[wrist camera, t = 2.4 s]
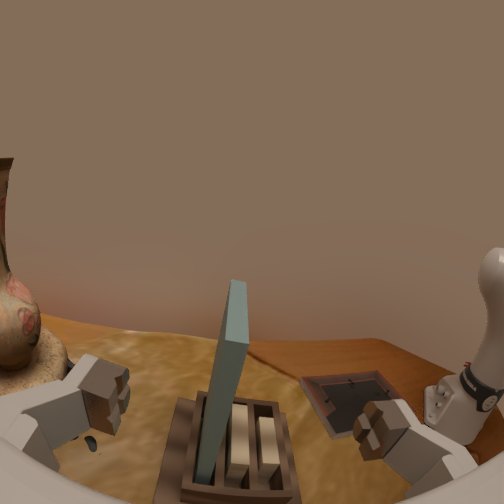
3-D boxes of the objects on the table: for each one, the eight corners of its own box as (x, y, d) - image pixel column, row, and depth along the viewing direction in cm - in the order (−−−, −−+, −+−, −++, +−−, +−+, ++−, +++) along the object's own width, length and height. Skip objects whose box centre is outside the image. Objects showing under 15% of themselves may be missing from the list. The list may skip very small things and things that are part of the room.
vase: (-19, 362, 26) (-40, 156, 18) (77, 352, 42) (82, 161, 34) (-6, 471, 11) (-105, 162, 3) (128, 446, 27) (133, 169, 19)
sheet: (201, 424, 34) (231, 279, 29) (212, 426, 34) (246, 282, 29) (193, 488, 23) (225, 339, 17) (206, 490, 23) (249, 343, 17)
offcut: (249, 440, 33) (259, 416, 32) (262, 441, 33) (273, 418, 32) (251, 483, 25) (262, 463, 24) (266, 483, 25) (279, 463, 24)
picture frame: (330, 441, 36) (410, 418, 42) (336, 433, 36) (416, 410, 42) (298, 384, 52) (373, 377, 58) (302, 375, 51) (377, 369, 57)
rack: (177, 403, 39) (180, 375, 38) (282, 418, 41) (294, 393, 39) (152, 515, 18) (148, 499, 16) (301, 526, 19) (322, 511, 18)
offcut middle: (224, 432, 34) (232, 403, 32) (237, 434, 34) (247, 405, 32) (221, 486, 24) (231, 463, 22) (237, 488, 24) (249, 464, 22)
